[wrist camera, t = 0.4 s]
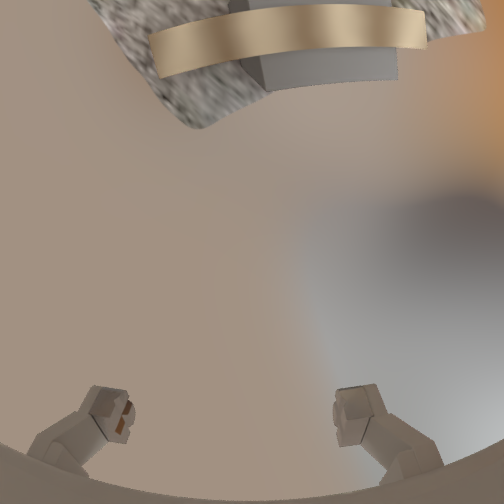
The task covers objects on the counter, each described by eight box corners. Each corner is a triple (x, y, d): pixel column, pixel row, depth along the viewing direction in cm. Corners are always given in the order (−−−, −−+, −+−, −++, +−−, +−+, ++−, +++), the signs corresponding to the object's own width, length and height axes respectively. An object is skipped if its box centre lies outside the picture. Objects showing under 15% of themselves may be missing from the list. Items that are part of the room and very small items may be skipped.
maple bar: (165, 74, 23) (159, 79, 20) (155, 35, 20) (147, 35, 18) (407, 45, 22) (427, 49, 20) (403, 10, 20) (424, 11, 17)
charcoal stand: (241, 66, 45) (266, 92, 25) (228, 4, 37) (242, -25, 18) (319, 56, 45) (397, 80, 25) (309, -5, 37) (386, -25, 17)
